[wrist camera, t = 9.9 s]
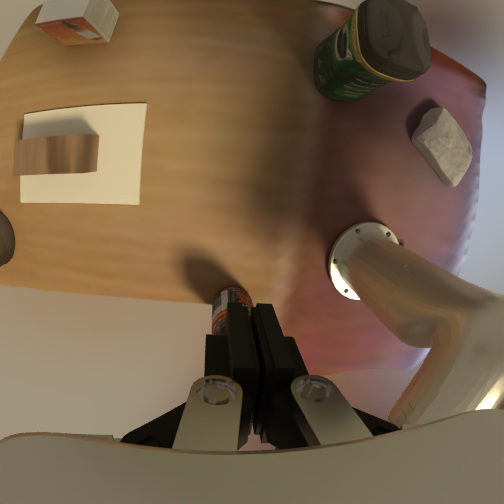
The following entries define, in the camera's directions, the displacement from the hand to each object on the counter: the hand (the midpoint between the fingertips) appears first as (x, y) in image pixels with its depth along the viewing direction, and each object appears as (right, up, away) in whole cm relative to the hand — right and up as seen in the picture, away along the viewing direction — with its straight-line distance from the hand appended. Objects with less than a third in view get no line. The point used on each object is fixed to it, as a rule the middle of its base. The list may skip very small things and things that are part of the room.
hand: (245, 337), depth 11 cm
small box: (-23, +36, +19) cm, 47 cm away
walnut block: (-21, +16, +22) cm, 34 cm away
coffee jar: (+13, +29, +25) cm, 41 cm away
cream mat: (-25, +17, +25) cm, 39 cm away
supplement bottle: (-3, -4, +34) cm, 34 cm away
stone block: (+32, +22, +30) cm, 49 cm away
